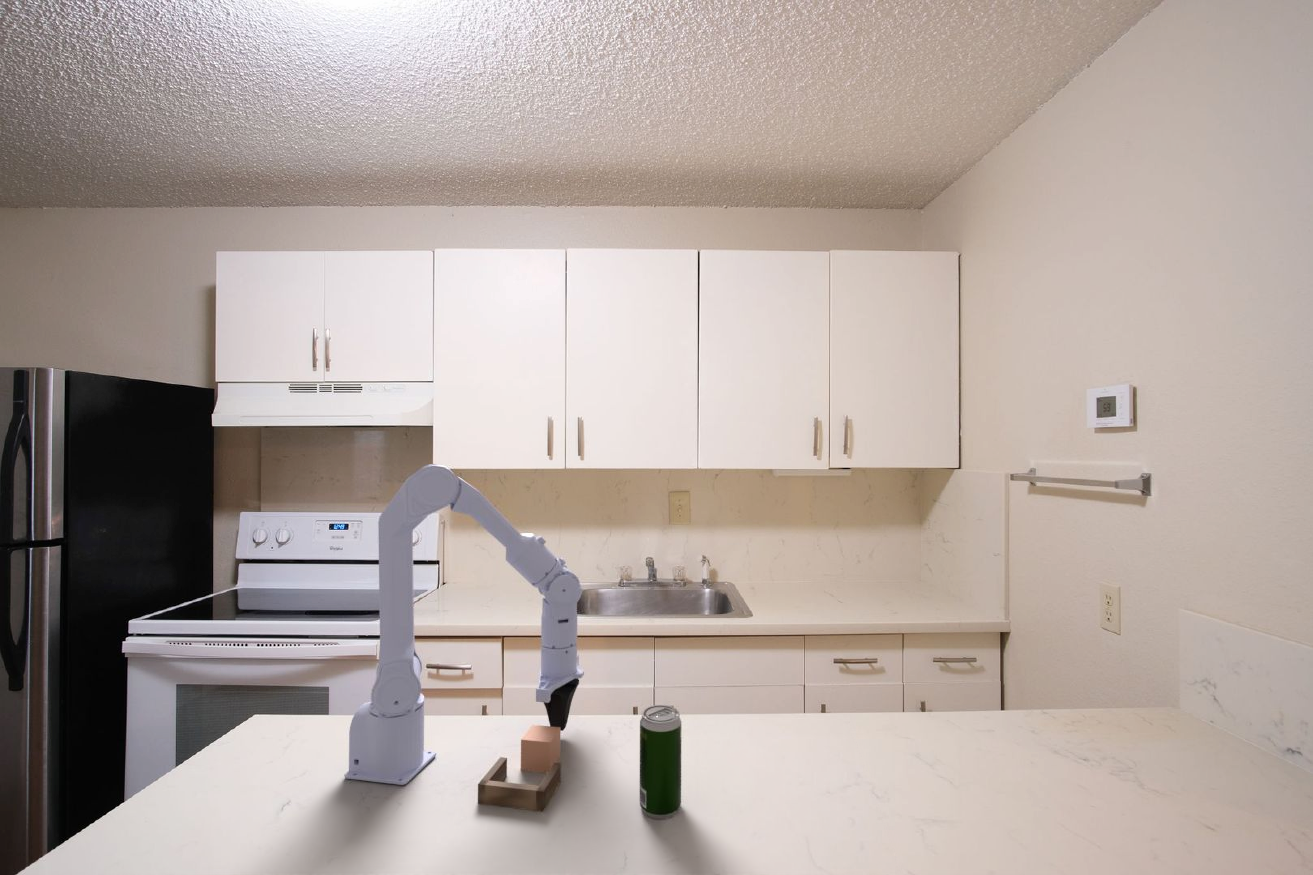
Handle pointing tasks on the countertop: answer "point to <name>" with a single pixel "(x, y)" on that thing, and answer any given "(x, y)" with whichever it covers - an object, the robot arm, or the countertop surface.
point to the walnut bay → (517, 789)
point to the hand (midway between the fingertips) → (558, 728)
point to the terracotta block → (540, 748)
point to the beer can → (660, 761)
